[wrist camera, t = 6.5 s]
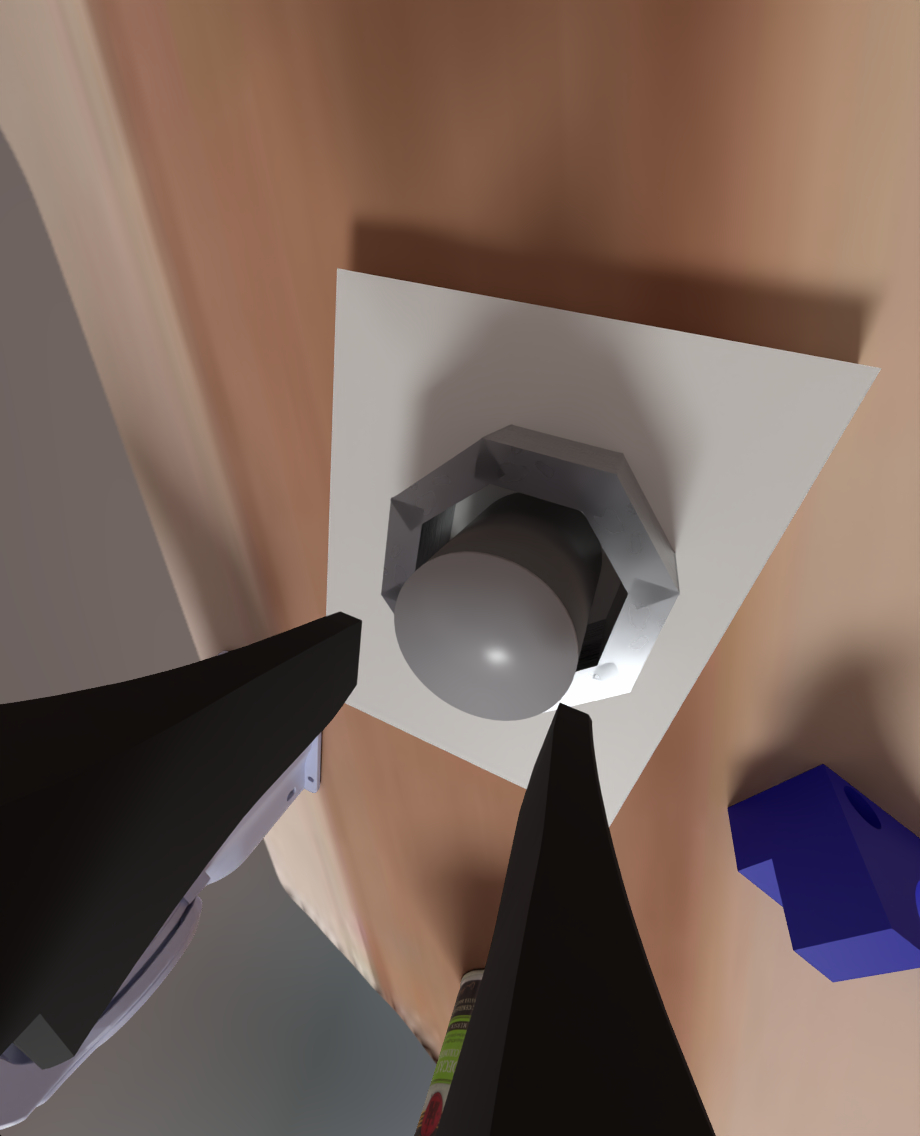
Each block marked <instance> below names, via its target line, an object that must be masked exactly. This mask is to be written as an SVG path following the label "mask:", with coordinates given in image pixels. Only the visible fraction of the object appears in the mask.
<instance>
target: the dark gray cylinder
mask: <svg viewBox="0 0 920 1136" xmlns="http://www.w3.org/2000/svg"><path fill="white" fill-rule="evenodd" d="M601 566H602V551H601V545H600V542H599V540H598V538H597V536H596V535H595V533H594V531H593V529H592V527H591V526H590V524H589V522H588V520H587V518H586V517H585V515H584V514H583V513H582V512H581V511H579V510H576V509H573V508H569V507H566V506H563V505H559V504H556V503H553V502H549V501H546V500H543V499H539V498H536V497H533V496H529V495H526V494H523V493H519V492H518V493H513V494H510V495H507V496H504V497H502V498H500V499H498V500H497V501H495V502H494V503H492V504H491V505H490V506H489V507H487V508H486V509H485V510H484V511H483V512H482V513H481V514H480V515H478V516H477V517H476V518H475V519H474V520H473V521H472V522H470V523H469V524H468V525H467V526H466V527H465V528H464V529H463V530H461V531H460V532H459V533H458V534H457V535H456V536H455V537H454V538H452V539H451V540H450V541H449V542H448V543H447V544H446V545H445V546H443V547H442V548H441V549H440V550H439V551H438V552H437V553H435V554H434V555H433V556H432V557H431V558H430V559H429V560H428V561H426V562H425V563H424V564H423V565H422V566H421V567H420V568H419V569H417V570H416V571H415V572H414V573H413V574H412V575H411V576H410V577H409V578H408V579H407V581H406V582H405V583H404V585H403V587H402V588H401V590H400V592H399V595H398V598H397V600H396V605H395V610H394V626H395V633H396V638H397V641H398V644H399V647H400V650H401V652H402V654H403V656H404V659H405V660H406V662H407V664H408V665H409V667H410V669H411V670H412V671H413V673H414V674H415V675H416V677H417V678H418V679H419V680H420V681H421V682H422V683H423V684H424V685H425V686H426V687H427V688H428V689H429V690H430V691H431V692H432V693H433V694H435V695H436V696H437V697H439V698H440V699H441V700H443V701H444V702H446V703H448V704H449V705H451V706H453V707H455V708H457V709H459V710H461V711H463V712H466V713H468V714H471V715H474V716H477V717H481V718H485V719H490V720H499V721H515V720H522V719H527V718H530V717H534V716H537V715H539V714H541V713H543V712H545V711H547V710H548V709H550V708H551V707H553V706H554V705H555V704H556V703H558V702H559V701H560V700H561V699H562V698H563V696H564V695H565V694H566V692H567V691H568V689H569V687H570V685H571V683H572V681H573V678H574V675H575V672H576V668H577V664H578V660H579V656H580V652H581V648H582V644H583V640H584V636H585V632H586V628H587V624H588V620H589V616H590V612H591V608H592V604H593V600H594V596H595V592H596V588H597V584H598V580H599V576H600V572H601Z"/></svg>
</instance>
